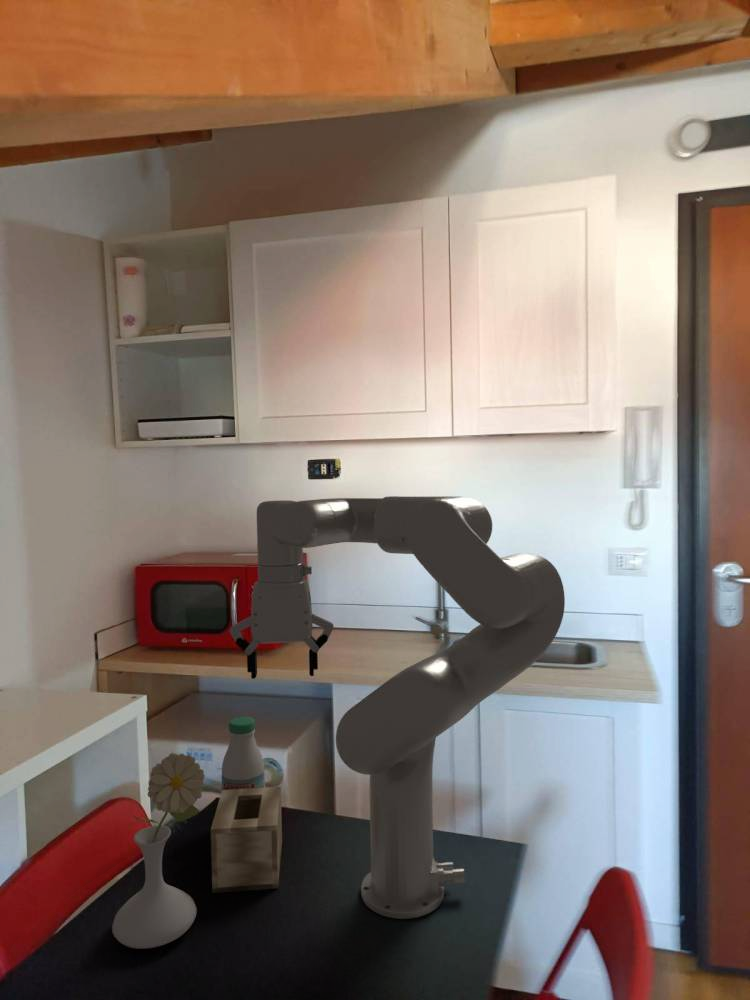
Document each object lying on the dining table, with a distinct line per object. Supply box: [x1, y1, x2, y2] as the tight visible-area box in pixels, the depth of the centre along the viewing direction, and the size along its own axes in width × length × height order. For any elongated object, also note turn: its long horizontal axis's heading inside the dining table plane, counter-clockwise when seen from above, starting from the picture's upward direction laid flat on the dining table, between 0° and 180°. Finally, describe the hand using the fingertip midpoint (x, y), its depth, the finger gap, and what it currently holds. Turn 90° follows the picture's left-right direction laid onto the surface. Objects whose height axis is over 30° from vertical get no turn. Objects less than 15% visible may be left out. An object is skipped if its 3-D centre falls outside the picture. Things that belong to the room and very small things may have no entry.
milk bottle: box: [221, 716, 266, 791], centre depth 123 cm, size 8×8×20 cm
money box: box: [210, 786, 283, 894], centre depth 111 cm, size 10×13×10 cm
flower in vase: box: [111, 752, 206, 950], centre depth 96 cm, size 13×11×25 cm
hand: (283, 675), depth 115 cm, fingers open, 9 cm apart
